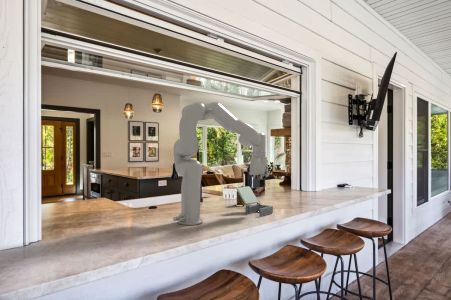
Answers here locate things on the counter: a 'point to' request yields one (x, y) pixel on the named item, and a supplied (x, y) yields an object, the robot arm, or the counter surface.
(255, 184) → the gray rectangular prism
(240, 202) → the condiment
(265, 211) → the grey u-shaped block
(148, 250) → the counter surface
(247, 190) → the lid
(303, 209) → the counter surface
